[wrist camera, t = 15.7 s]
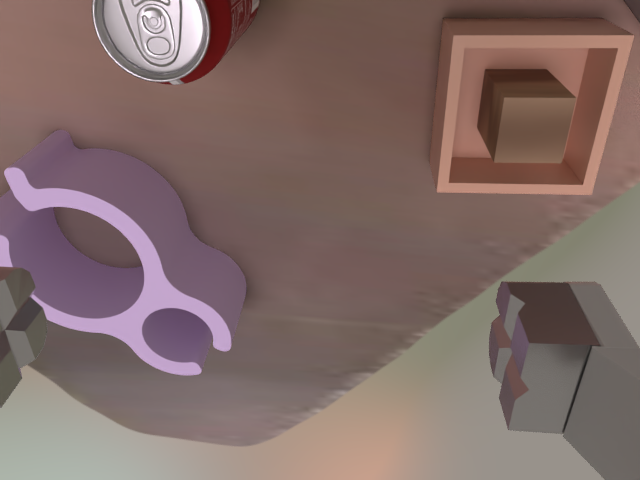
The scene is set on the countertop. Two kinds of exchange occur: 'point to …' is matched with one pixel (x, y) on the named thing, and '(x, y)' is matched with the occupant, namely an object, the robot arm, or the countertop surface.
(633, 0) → the tray
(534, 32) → the peach open box
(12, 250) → the clip
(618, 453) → the robot arm
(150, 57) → the soda can
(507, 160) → the block
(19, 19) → the countertop surface
